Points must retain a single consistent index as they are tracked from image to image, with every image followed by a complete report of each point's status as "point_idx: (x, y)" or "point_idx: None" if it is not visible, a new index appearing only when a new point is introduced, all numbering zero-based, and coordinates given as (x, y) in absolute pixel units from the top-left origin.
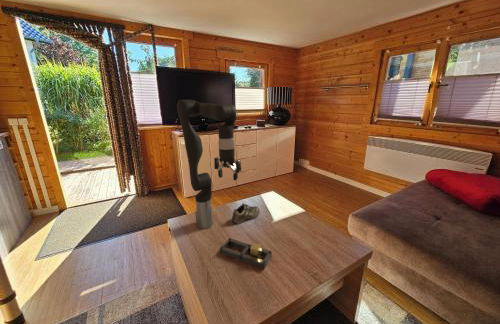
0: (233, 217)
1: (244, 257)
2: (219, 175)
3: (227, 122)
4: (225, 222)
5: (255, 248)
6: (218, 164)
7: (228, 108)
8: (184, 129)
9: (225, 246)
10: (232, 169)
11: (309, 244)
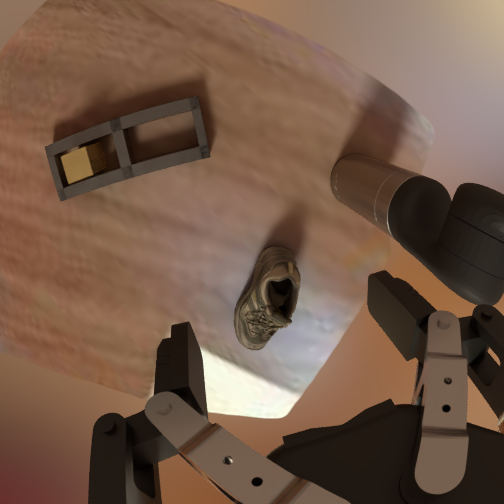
0: (284, 255)
1: (103, 123)
2: (391, 283)
3: None
4: (304, 230)
5: (71, 157)
6: (482, 381)
7: None
8: None
9: (193, 118)
10: (198, 437)
11: (42, 302)
